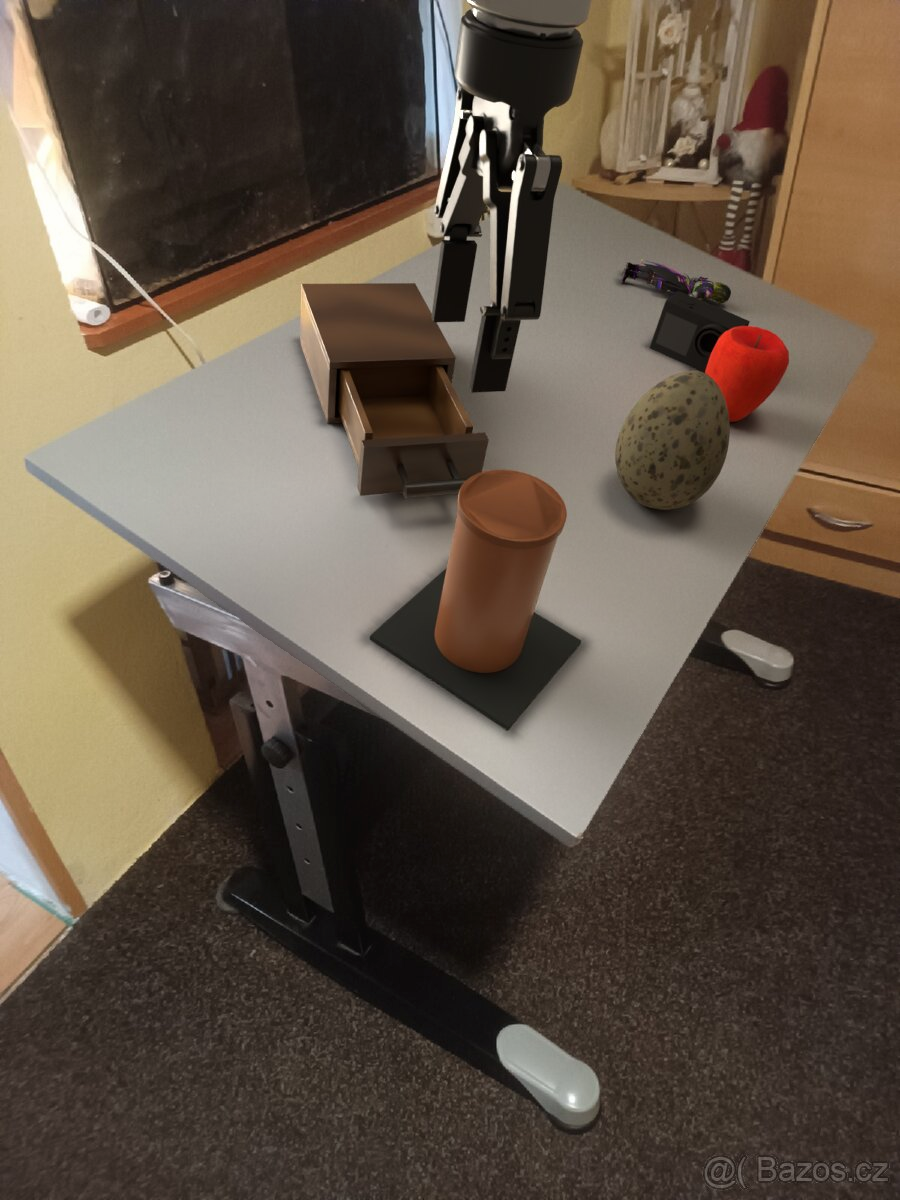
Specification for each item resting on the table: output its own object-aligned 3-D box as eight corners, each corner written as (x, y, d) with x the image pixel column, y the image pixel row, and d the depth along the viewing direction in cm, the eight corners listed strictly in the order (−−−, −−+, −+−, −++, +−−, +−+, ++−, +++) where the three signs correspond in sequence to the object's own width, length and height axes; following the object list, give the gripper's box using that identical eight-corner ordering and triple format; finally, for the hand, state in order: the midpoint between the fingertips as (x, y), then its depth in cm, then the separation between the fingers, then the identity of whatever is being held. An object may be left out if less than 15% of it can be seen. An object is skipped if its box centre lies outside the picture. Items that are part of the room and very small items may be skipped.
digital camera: (644, 351, 111) (661, 302, 106) (660, 337, 114) (677, 289, 109) (714, 383, 108) (735, 334, 102) (729, 368, 111) (750, 320, 106)
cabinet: (446, 417, 94) (456, 357, 88) (327, 424, 89) (329, 362, 84) (408, 340, 104) (415, 282, 98) (300, 343, 100) (301, 283, 94)
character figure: (615, 294, 122) (723, 320, 120) (622, 269, 120) (732, 295, 117) (626, 270, 129) (729, 294, 126) (633, 246, 126) (737, 270, 123)
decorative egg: (655, 458, 94) (702, 338, 83) (720, 517, 88) (780, 396, 77) (581, 480, 89) (621, 355, 78) (645, 543, 83) (698, 418, 72)
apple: (758, 443, 99) (798, 363, 91) (687, 423, 100) (720, 342, 92) (759, 406, 105) (797, 328, 97) (692, 387, 106) (724, 308, 98)
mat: (369, 639, 70) (369, 635, 69) (451, 567, 77) (452, 562, 77) (507, 731, 65) (508, 727, 65) (579, 644, 73) (581, 640, 72)
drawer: (492, 513, 82) (503, 466, 78) (369, 524, 78) (374, 476, 74) (436, 399, 94) (443, 354, 90) (328, 405, 90) (330, 357, 86)
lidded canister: (425, 664, 68) (451, 528, 57) (439, 596, 73) (465, 460, 63) (520, 683, 68) (564, 551, 57) (527, 613, 73) (569, 481, 63)
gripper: (662, 83, 44) (561, 433, 60) (518, -22, 58) (468, 284, 74) (532, 73, 41) (463, 439, 58) (415, -34, 55) (386, 285, 71)
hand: (466, 352), depth 66 cm, fingers open, 10 cm apart
